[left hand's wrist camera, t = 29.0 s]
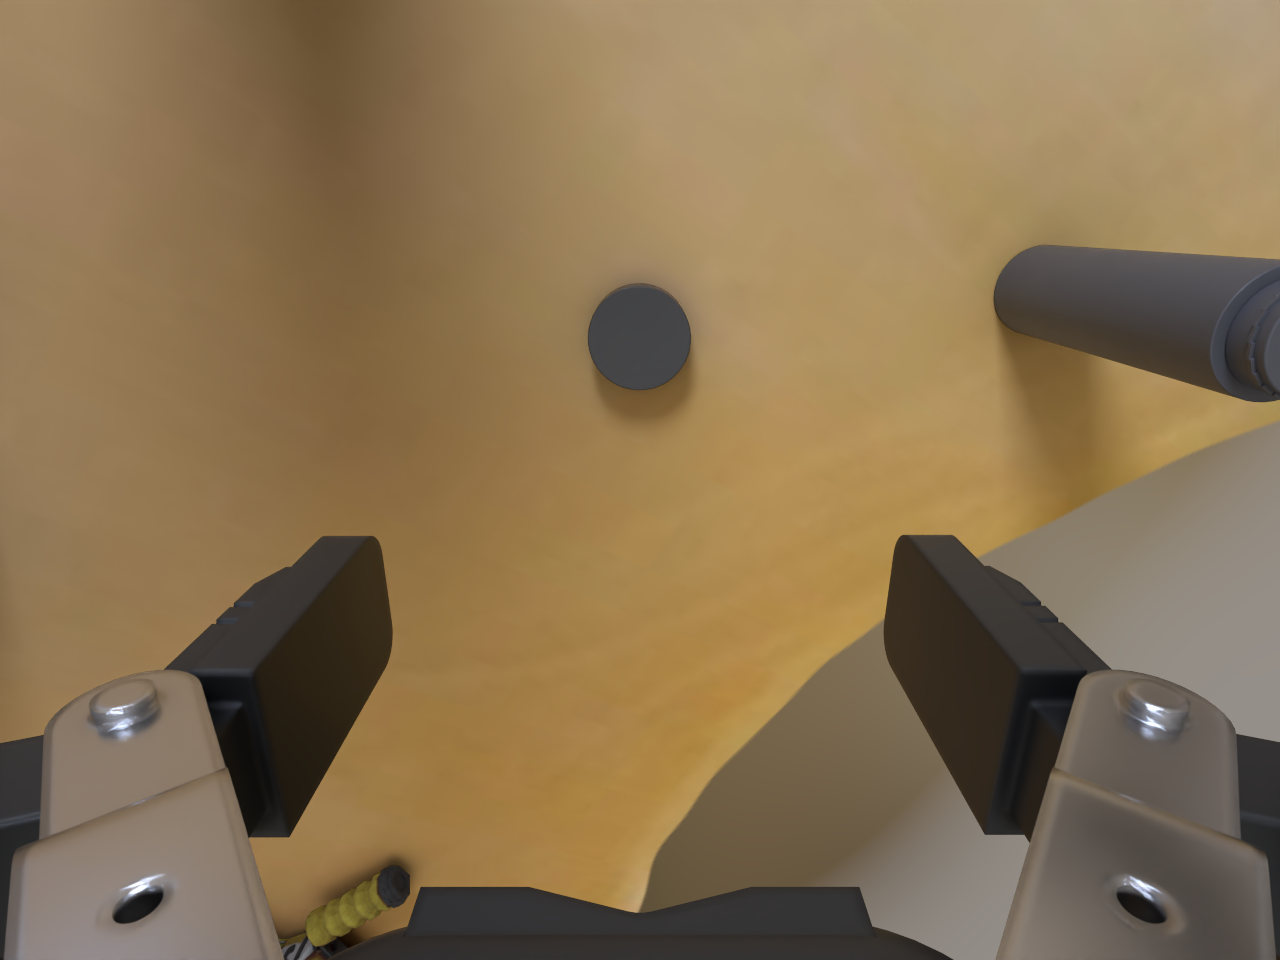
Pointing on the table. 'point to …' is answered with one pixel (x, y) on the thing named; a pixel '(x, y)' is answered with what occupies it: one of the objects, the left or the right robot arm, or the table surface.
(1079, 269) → the grey cylindrical tube
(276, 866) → the table surface
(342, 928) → the toy gun
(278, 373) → the table surface
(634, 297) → the lid
